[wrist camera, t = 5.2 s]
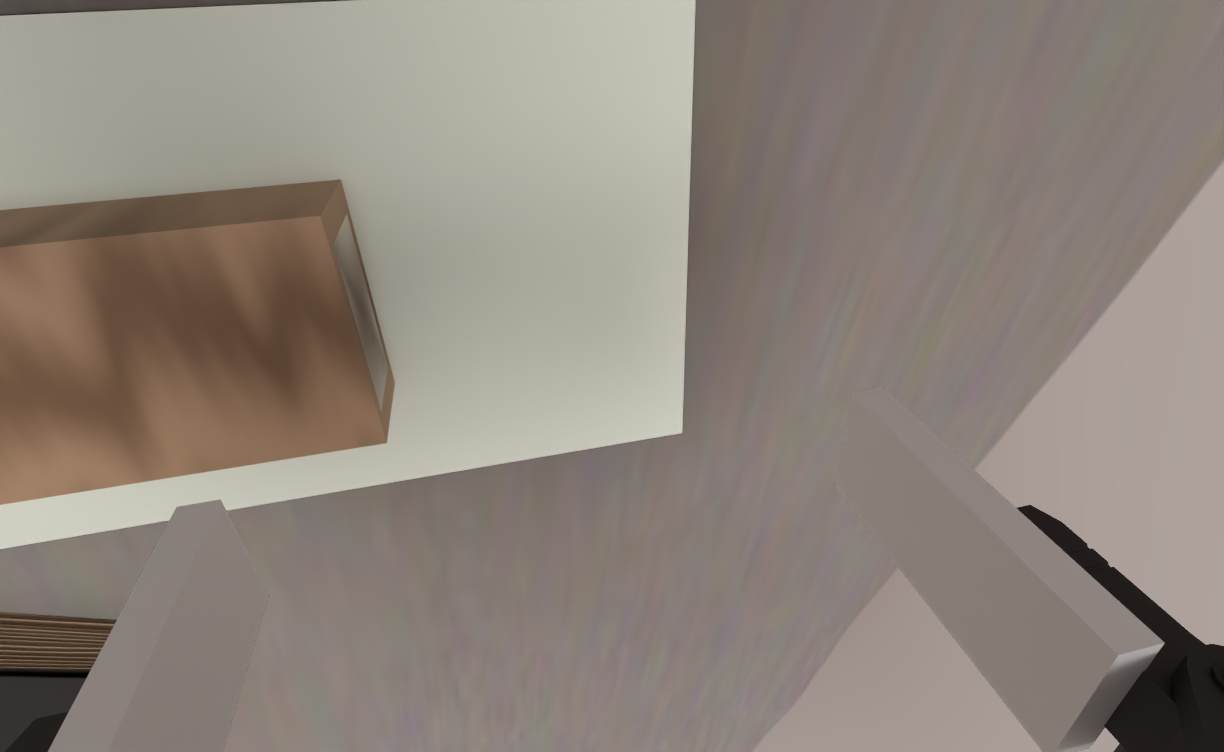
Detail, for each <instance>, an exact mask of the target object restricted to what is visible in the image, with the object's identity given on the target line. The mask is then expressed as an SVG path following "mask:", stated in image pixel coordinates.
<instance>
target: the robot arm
mask: <svg viewBox="0 0 1224 752" xmlns="http://www.w3.org/2000/svg"><path fill="white" fill-rule="evenodd" d="M834 486H835V487H836V488H837V490H838V491H839V492H840V494H841V495H842V496H843V497H844V499H845V500H846V501H847V502H848V504H849V505H850V506H851V508H852V509H853V510H854V511H855V513H856V514H857V515H858V516H859V518H860V519H861V520H862V522H863V523H864V524H865V525H866V527H867V528H868V529H869V531H870V532H871V533H872V534H873V536H874V537H875V538H876V539H877V541H878V542H879V543H880V545H881V546H882V547H883V548H884V550H885V551H886V552H887V553H888V555H889V556H890V557H891V559H892V560H893V561H894V562H895V564H896V565H897V566H898V568H899V569H900V570H901V571H902V573H903V574H904V575H905V576H906V578H907V579H908V580H909V581H910V583H911V584H912V585H913V587H914V588H915V589H916V590H917V592H918V593H919V594H920V595H921V597H922V598H923V599H924V601H925V602H926V603H927V605H928V606H929V607H930V608H931V610H932V611H933V612H934V613H935V615H936V616H937V617H938V618H939V620H940V621H941V622H942V624H943V625H944V626H945V627H946V629H947V630H948V631H949V633H950V634H951V635H952V636H953V638H954V639H955V640H956V642H957V643H958V644H959V645H960V647H961V648H962V649H963V650H964V652H965V653H966V654H967V655H968V657H969V658H970V659H971V661H972V662H973V663H974V664H975V666H976V667H977V668H978V670H979V671H980V672H981V673H982V675H983V676H984V677H985V678H986V680H987V681H988V682H989V684H990V685H991V686H992V687H993V688H994V690H995V691H996V693H997V694H998V695H999V696H1000V698H1001V699H1002V700H1003V702H1004V703H1005V704H1006V705H1007V707H1008V708H1009V709H1010V710H1011V712H1012V713H1013V714H1014V716H1015V717H1016V718H1017V719H1018V721H1019V722H1020V723H1021V724H1022V726H1023V727H1024V728H1025V729H1026V731H1027V732H1028V733H1029V735H1030V736H1031V737H1032V739H1033V740H1034V741H1035V742H1036V744H1037V745H1038V746H1039V747H1040V748H1041V750H1042V751H1043V752H1078V751H1081V750H1085V749H1088V748H1090V747H1091V746H1092V745H1093V743H1094V742H1095V740H1096V739H1097V738H1098V736H1099V735H1100V733H1101V732H1102V731H1103V729H1104V728H1105V727H1106V728H1107V729H1108V731H1109V732H1110V733H1111V734H1112V735H1113V736H1114V737H1115V738H1116V739H1117V740H1118V742H1119V743H1120V744H1119V745H1118V747H1117V748H1116V749H1115V751H1114V752H1224V646H1220V645H1215V644H1209V645H1205V644H1204V643H1202V642H1201V641H1200V640H1199V639H1197V638H1196V637H1195V636H1193V635H1192V634H1191V633H1189V632H1188V631H1187V630H1186V629H1185V628H1184V627H1182V626H1181V625H1180V624H1179V623H1178V622H1177V621H1176V620H1175V619H1173V618H1172V617H1171V616H1170V615H1169V614H1168V613H1166V612H1165V611H1164V610H1163V609H1162V608H1161V607H1159V606H1158V605H1157V604H1156V603H1155V602H1154V601H1152V600H1151V599H1150V598H1149V597H1148V596H1147V595H1146V594H1144V593H1143V592H1142V591H1141V590H1140V589H1139V588H1137V587H1136V586H1135V585H1134V584H1133V583H1132V582H1131V581H1129V580H1128V579H1127V578H1126V577H1125V576H1124V575H1122V574H1121V573H1120V572H1119V571H1118V570H1117V569H1115V568H1114V567H1110V566H1109V565H1108V562H1107V561H1106V560H1105V559H1104V558H1103V557H1101V556H1100V555H1099V554H1098V553H1097V552H1096V551H1095V550H1093V549H1089V548H1088V547H1087V544H1086V543H1085V542H1084V541H1083V540H1082V539H1081V538H1080V537H1078V536H1077V535H1076V534H1075V533H1073V532H1072V531H1071V530H1070V529H1069V528H1068V527H1067V526H1066V525H1064V524H1063V523H1062V522H1061V521H1059V520H1057V519H1055V518H1053V517H1051V516H1050V515H1048V514H1046V513H1044V512H1042V511H1040V510H1039V509H1037V508H1035V507H1033V506H1031V505H1028V506H1023V507H1019V508H1016V507H1015V506H1013V505H1012V504H1011V503H1010V502H1009V501H1008V500H1007V499H1006V498H1005V497H1003V496H1002V495H1001V494H1000V493H999V492H998V491H997V490H996V489H995V488H994V487H993V486H991V485H990V484H989V483H988V482H987V481H986V480H985V479H984V478H982V477H981V476H980V475H979V474H978V473H977V472H976V471H975V470H974V469H973V468H972V467H970V466H969V465H968V464H967V463H966V462H965V461H964V460H963V459H962V458H961V457H959V456H958V455H957V454H956V453H955V452H954V451H953V450H952V449H951V448H950V447H948V446H947V445H946V444H945V443H944V442H943V441H942V440H941V439H940V438H939V437H937V436H936V435H935V434H934V433H933V432H932V431H931V430H930V429H929V428H928V427H926V426H925V425H924V424H923V423H922V422H921V421H920V420H919V419H918V418H917V417H915V416H914V415H913V414H912V413H911V412H910V411H909V410H908V409H907V408H905V407H904V406H903V405H902V404H901V403H900V402H899V401H898V400H897V399H896V398H894V397H893V396H892V395H891V394H890V393H889V392H888V391H887V390H886V389H885V388H878V389H872V390H866V391H860V392H854V393H853V394H852V399H851V403H850V408H849V413H848V418H847V423H846V428H845V433H844V438H843V443H842V448H841V453H840V457H839V462H838V467H837V472H836V477H835V482H834ZM268 598H269V594H268V592H267V590H266V588H265V586H264V584H263V582H262V580H261V578H260V576H259V574H258V572H257V570H256V568H255V566H254V564H253V562H252V560H251V558H250V556H249V554H248V552H247V550H246V548H245V546H244V544H243V542H242V540H241V538H240V536H239V534H238V532H237V530H236V529H235V527H234V525H233V523H232V521H231V519H230V517H229V515H228V513H227V511H226V509H225V507H224V505H223V503H222V501H221V499H220V500H214V501H208V502H202V503H196V504H190V505H184V506H178V507H176V509H175V511H174V512H173V514H172V516H171V518H170V520H169V522H168V524H167V526H166V528H165V530H164V532H163V533H162V535H161V537H160V539H159V541H158V543H157V545H156V547H155V549H154V551H153V552H152V554H151V556H150V558H149V560H148V562H147V564H146V566H145V568H144V570H143V571H142V573H141V575H140V577H139V579H138V581H137V583H136V585H135V587H134V589H133V591H132V592H131V594H130V596H129V598H128V600H127V602H126V604H125V606H124V608H123V610H122V611H121V613H120V615H119V617H118V619H117V621H116V623H115V625H114V627H113V629H112V630H111V632H110V634H109V636H108V638H107V640H106V642H105V644H104V646H103V648H102V649H101V651H100V653H99V655H98V657H97V659H96V661H95V663H94V665H93V667H92V669H91V670H90V672H89V674H88V676H87V678H86V680H85V682H84V684H83V686H82V688H81V689H80V691H79V693H78V695H77V697H76V699H75V701H74V703H73V705H72V707H71V708H70V710H69V712H65V713H60V714H55V715H51V716H46V717H41V718H37V719H35V720H34V721H33V722H32V723H31V724H30V725H29V726H28V727H27V728H26V729H25V730H24V732H23V733H22V734H21V735H20V736H19V737H18V738H17V739H16V740H15V741H14V742H13V743H12V744H11V745H10V746H9V748H8V749H7V750H6V751H5V752H223V750H224V747H225V744H226V740H227V737H228V733H229V730H230V727H231V723H232V720H233V716H234V713H235V710H236V706H237V703H238V699H239V696H240V693H241V689H242V686H243V683H244V679H245V676H246V672H247V669H248V666H249V662H250V659H251V655H252V652H253V649H254V645H255V642H256V638H257V635H258V632H259V628H260V625H261V621H262V618H263V615H264V611H265V608H266V605H267V601H268Z"/></svg>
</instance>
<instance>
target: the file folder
mask: <svg viewBox="0 0 1224 752" xmlns="http://www.w3.org/2000/svg"><path fill="white" fill-rule="evenodd" d="M115 623H116V621H113V620H97V619H83V618H69V617H55V616H42V615H29V614H15V613H2V612H0V752H5V751H6V750H7V749H8V748H9V746H10V745H11V744H12V743H13V742H14V741H15V740H16V739H17V738H18V737H19V736H20V735H21V734H22V733H23V732H24V730H25V729H26V728H27V727H28V726H29V725H30V724H31V723H32V722H33V721H34V720H35V719H37V718H41V717H46V716H51V715H55V714H60V713H65V712H69V710H70V708H71V707H72V705H73V703H74V701H75V699H76V697H77V695H78V693H79V691H80V689H81V688H82V686H83V684H84V682H85V680H86V678H87V676H88V674H89V672H90V670H91V669H92V667H93V665H94V663H95V661H96V659H97V657H98V655H99V653H100V651H101V649H102V648H103V646H104V644H105V642H106V640H107V638H108V636H109V634H110V632H111V630H112V629H113V627H114V625H115Z"/></svg>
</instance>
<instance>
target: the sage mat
mask: <svg viewBox="0 0 1224 752" xmlns="http://www.w3.org/2000/svg"><path fill="white" fill-rule="evenodd" d="M694 32H695V0H350V1H327V2H305V3H282V4H259V5H236V6H213V7H191V8H168V9H145V10H122V11H99V12H76V13H54V14H31V15H8V16H0V210H7V209H18V208H29V207H40V206H51V205H63V204H74V203H85V202H96V201H107V200H118V199H129V198H140V197H152V196H163V195H174V194H185V193H196V192H207V191H218V190H229V189H241V188H252V187H263V186H274V185H285V184H296V183H307V182H318V181H330V180H341V182H342V185H343V189H344V193H345V197H346V200H347V204H348V208H349V212H350V216H351V219H352V223H353V227H354V231H355V234H356V238H357V242H358V246H359V249H360V253H361V257H362V261H363V265H364V268H365V272H366V276H367V280H368V283H369V287H370V291H371V295H372V298H373V302H374V306H375V310H376V313H377V317H378V321H379V325H380V329H381V332H382V336H383V340H384V344H385V347H386V351H387V355H388V359H389V362H390V366H391V370H392V374H393V378H394V381H395V385H394V393H393V400H392V408H391V415H390V423H389V430H388V438H387V443H385V444H378V445H372V446H366V447H360V448H353V449H347V450H341V451H335V452H328V453H322V454H316V455H310V456H303V457H297V458H291V459H285V460H278V461H272V462H266V463H260V464H253V465H247V466H241V467H235V468H228V469H222V470H216V471H210V472H203V473H197V474H191V475H184V476H178V477H172V478H166V479H159V480H153V481H147V482H141V483H134V484H128V485H122V486H116V487H109V488H103V489H97V490H91V491H84V492H78V493H72V494H66V495H59V496H53V497H47V498H41V499H34V500H28V501H22V502H16V503H9V504H3V505H0V549H3V548H9V547H15V546H21V545H27V544H33V543H39V542H44V541H50V540H56V539H62V538H68V537H74V536H80V535H86V534H91V533H97V532H103V531H109V530H115V529H121V528H127V527H133V526H138V525H144V524H150V523H156V522H162V521H168V520H170V518H171V516H172V514H173V512H174V511H175V509H176V507H178V506H184V505H190V504H196V503H202V502H208V501H214V500H220V499H221V501H222V503H223V505H224V507H225V509H226V511H227V510H232V509H238V508H244V507H250V506H256V505H262V504H268V503H274V502H279V501H285V500H291V499H297V498H303V497H309V496H315V495H321V494H326V493H332V492H338V491H344V490H350V489H356V488H362V487H368V486H373V485H379V484H385V483H391V482H397V481H403V480H409V479H415V478H420V477H426V476H432V475H438V474H444V473H450V472H456V471H461V470H467V469H473V468H479V467H485V466H491V465H497V464H503V463H508V462H514V461H520V460H526V459H532V458H538V457H544V456H550V455H555V454H561V453H567V452H573V451H579V450H585V449H591V448H597V447H602V446H608V445H614V444H620V443H626V442H632V441H638V440H644V439H649V438H655V437H661V436H667V435H673V434H679V433H682V423H683V390H684V358H685V325H686V293H687V260H688V227H689V195H690V162H691V130H692V97H693V64H694Z"/></svg>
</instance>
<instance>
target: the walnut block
mask: <svg viewBox="0 0 1224 752" xmlns="http://www.w3.org/2000/svg"><path fill="white" fill-rule="evenodd" d="M394 385H395V381H394V378H393V374H392V370H391V366H390V362H389V359H388V355H387V351H386V347H385V344H384V340H383V336H382V332H381V329H380V325H379V321H378V317H377V313H376V310H375V306H374V302H373V298H372V295H371V291H370V287H369V283H368V280H367V276H366V272H365V268H364V265H363V261H362V257H361V253H360V249H359V246H358V242H357V238H356V234H355V231H354V227H353V223H352V219H351V216H350V212H349V208H348V204H347V200H346V197H345V193H344V189H343V185H342V182H341V180H330V181H318V182H307V183H296V184H285V185H274V186H263V187H252V188H241V189H229V190H218V191H207V192H196V193H185V194H174V195H163V196H152V197H140V198H129V199H118V200H107V201H96V202H85V203H74V204H63V205H51V206H40V207H29V208H18V209H7V210H0V505H3V504H9V503H16V502H22V501H28V500H34V499H41V498H47V497H53V496H59V495H66V494H72V493H78V492H84V491H91V490H97V489H103V488H109V487H116V486H122V485H128V484H134V483H141V482H147V481H153V480H159V479H166V478H172V477H178V476H184V475H191V474H197V473H203V472H210V471H216V470H222V469H228V468H235V467H241V466H247V465H253V464H260V463H266V462H272V461H278V460H285V459H291V458H297V457H303V456H310V455H316V454H322V453H328V452H335V451H341V450H347V449H353V448H360V447H366V446H372V445H378V444H385V443H387V438H388V430H389V423H390V415H391V408H392V400H393V393H394Z"/></svg>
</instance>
